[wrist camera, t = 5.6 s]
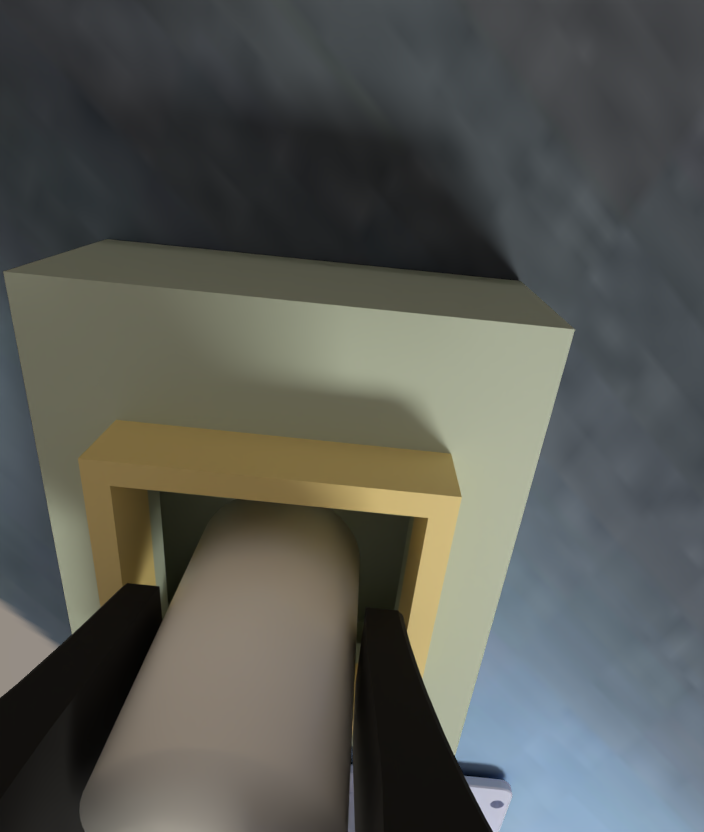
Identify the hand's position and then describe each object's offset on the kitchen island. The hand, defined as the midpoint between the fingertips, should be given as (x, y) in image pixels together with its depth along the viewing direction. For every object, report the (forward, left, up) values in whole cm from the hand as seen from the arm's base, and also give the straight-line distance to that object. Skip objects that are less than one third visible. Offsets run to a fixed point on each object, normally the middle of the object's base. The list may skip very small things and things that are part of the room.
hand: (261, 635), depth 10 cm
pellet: (0, 0, -2) cm, 2 cm away
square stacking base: (0, 0, -6) cm, 6 cm away
